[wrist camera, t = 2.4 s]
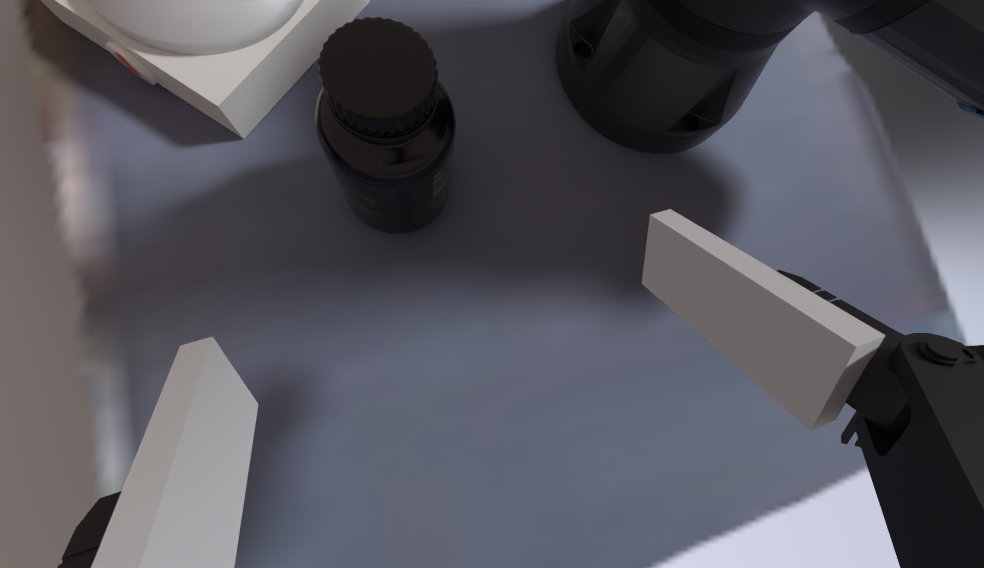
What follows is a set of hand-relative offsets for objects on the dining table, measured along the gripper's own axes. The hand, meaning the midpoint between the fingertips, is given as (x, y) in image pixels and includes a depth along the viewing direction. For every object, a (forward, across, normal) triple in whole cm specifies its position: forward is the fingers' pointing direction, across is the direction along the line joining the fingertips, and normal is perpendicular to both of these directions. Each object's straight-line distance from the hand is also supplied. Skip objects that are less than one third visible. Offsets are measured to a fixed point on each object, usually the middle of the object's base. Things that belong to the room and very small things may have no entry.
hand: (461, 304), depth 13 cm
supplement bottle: (+18, 0, -3) cm, 19 cm away
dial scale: (+29, -8, +8) cm, 31 cm away
